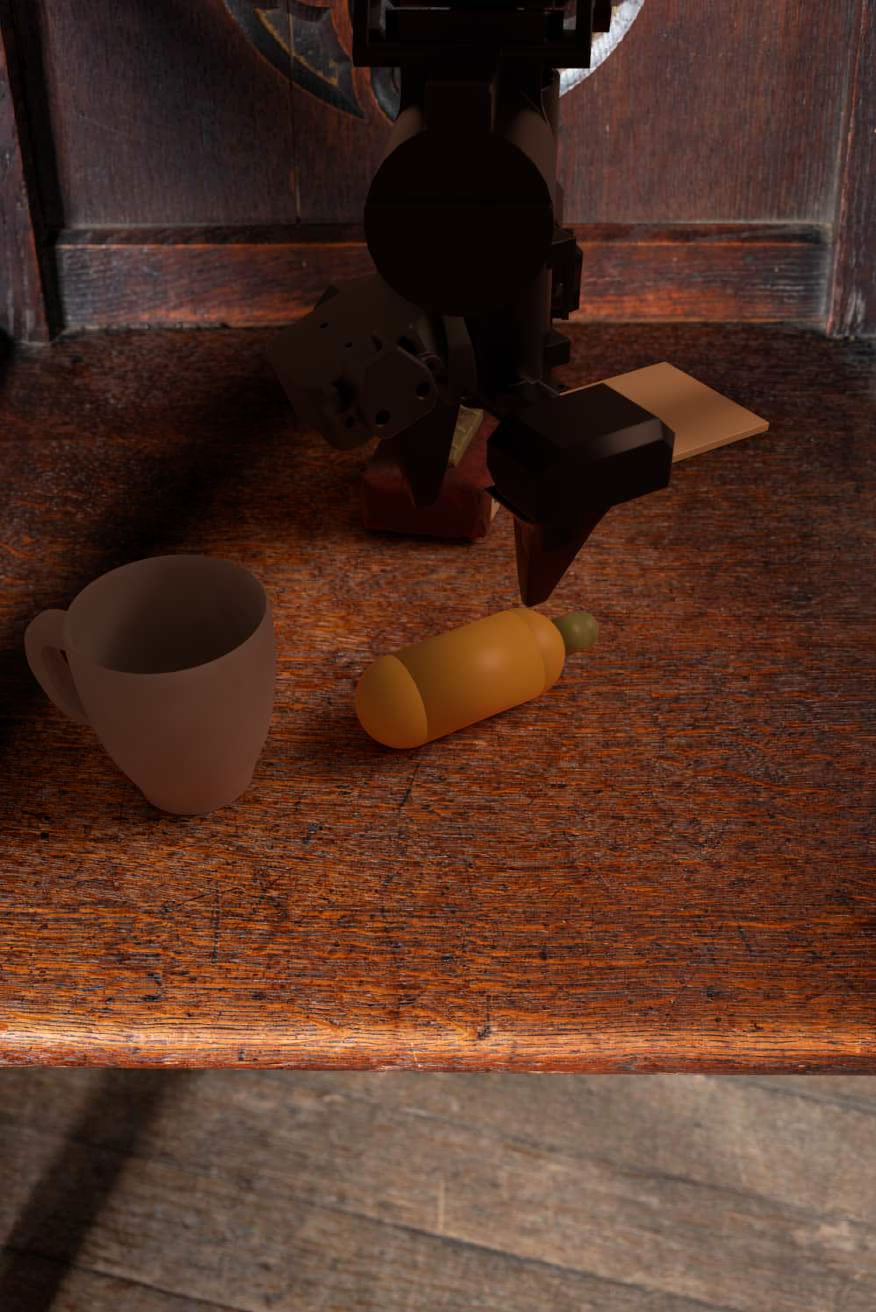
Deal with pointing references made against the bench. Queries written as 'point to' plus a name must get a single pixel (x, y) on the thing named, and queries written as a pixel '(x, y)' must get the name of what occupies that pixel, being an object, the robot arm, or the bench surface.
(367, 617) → the bench surface
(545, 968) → the bench surface
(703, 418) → the birch board
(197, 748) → the mug
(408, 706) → the orange rounded cylinder
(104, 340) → the bench surface
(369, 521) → the sculpture
